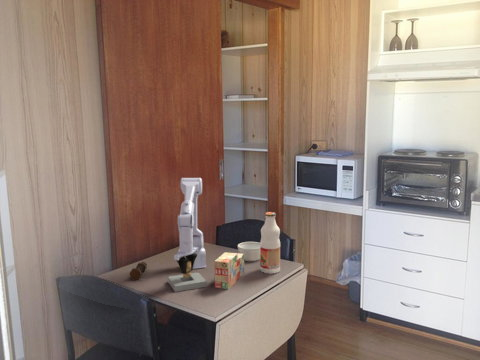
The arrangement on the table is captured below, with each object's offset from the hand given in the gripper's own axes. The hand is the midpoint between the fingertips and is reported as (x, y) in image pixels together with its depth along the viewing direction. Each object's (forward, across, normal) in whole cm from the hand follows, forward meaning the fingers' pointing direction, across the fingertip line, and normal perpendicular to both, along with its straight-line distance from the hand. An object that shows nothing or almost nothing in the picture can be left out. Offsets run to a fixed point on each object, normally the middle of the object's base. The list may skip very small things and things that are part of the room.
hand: (186, 271), depth 189 cm
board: (+6, 0, 0) cm, 6 cm away
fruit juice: (+6, -34, +24) cm, 41 cm away
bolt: (+6, +1, -27) cm, 28 cm away
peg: (+2, 0, 0) cm, 2 cm away
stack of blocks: (+6, -14, +14) cm, 20 cm away
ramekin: (+6, -45, +6) cm, 46 cm away
